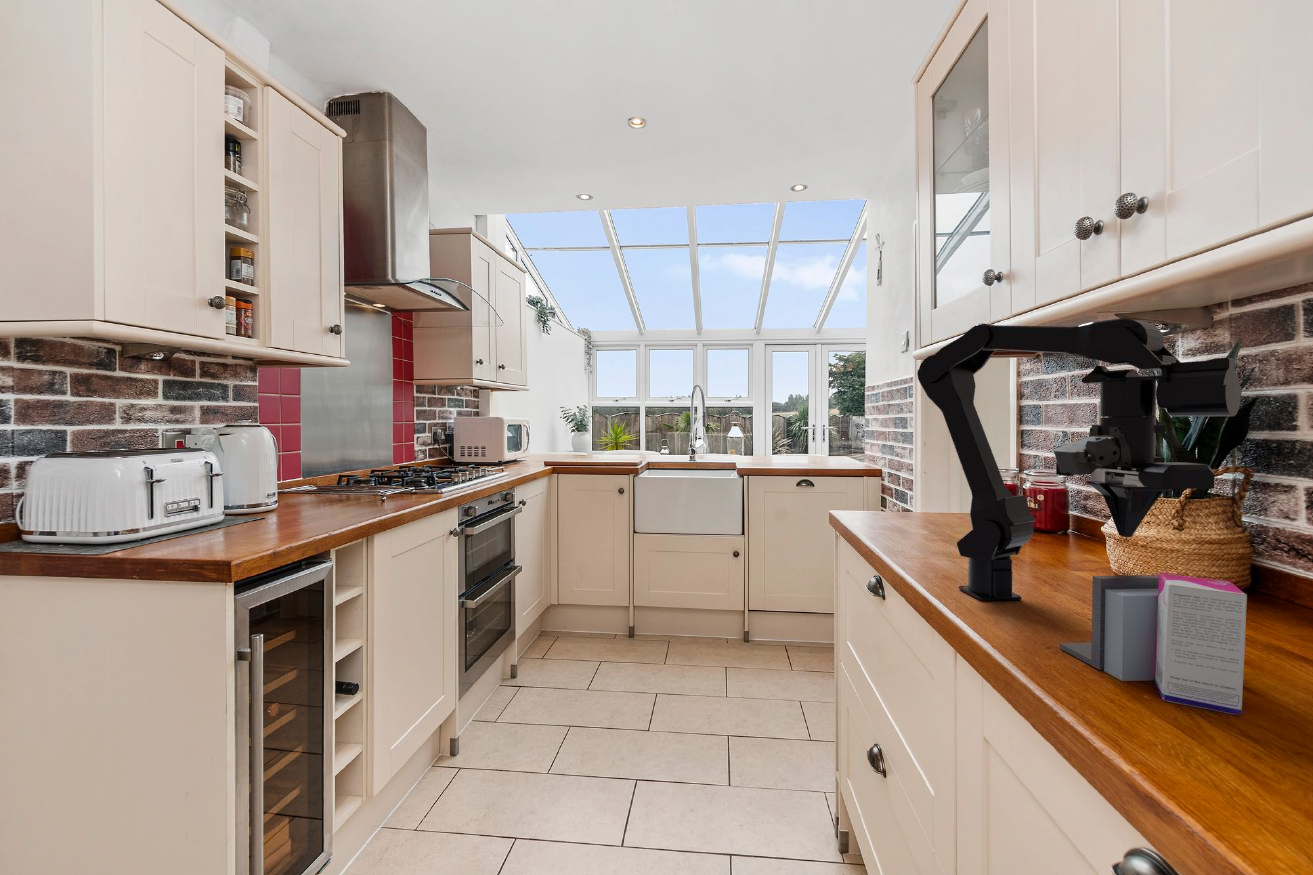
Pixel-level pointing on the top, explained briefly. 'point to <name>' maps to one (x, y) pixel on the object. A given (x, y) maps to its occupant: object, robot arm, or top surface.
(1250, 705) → the top surface
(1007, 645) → the top surface
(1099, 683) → the top surface
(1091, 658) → the bookend
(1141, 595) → the book
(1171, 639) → the supplement box
